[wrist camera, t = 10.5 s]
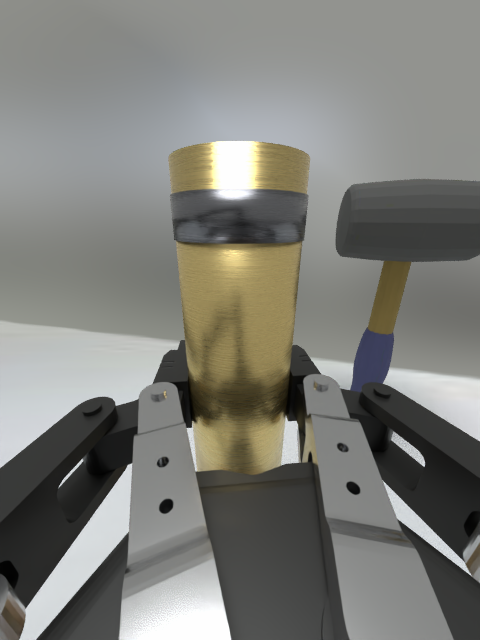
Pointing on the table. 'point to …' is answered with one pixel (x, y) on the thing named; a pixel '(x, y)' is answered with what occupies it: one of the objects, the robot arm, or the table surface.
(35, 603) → the table surface
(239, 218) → the brass peg
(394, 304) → the rubber mallet
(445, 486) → the robot arm
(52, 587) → the table surface
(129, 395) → the table surface
